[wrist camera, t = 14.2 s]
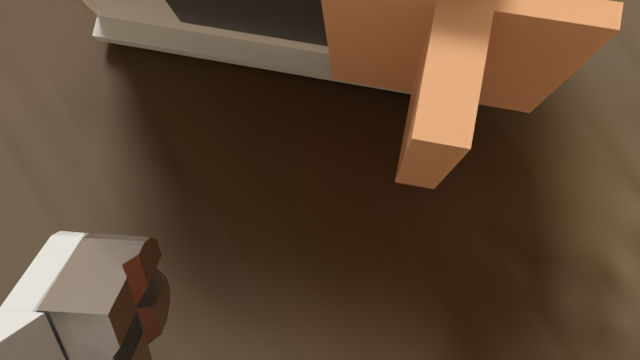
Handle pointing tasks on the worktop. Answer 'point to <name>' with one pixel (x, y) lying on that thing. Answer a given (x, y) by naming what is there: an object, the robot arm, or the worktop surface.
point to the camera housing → (224, 31)
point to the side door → (461, 62)
